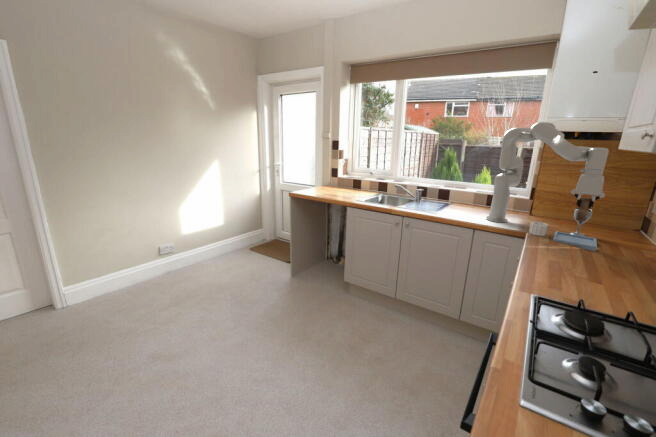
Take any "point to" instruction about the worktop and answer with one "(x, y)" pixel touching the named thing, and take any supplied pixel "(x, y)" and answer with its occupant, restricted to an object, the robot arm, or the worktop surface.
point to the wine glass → (581, 221)
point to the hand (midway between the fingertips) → (583, 207)
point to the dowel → (583, 209)
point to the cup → (538, 228)
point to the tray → (576, 240)
